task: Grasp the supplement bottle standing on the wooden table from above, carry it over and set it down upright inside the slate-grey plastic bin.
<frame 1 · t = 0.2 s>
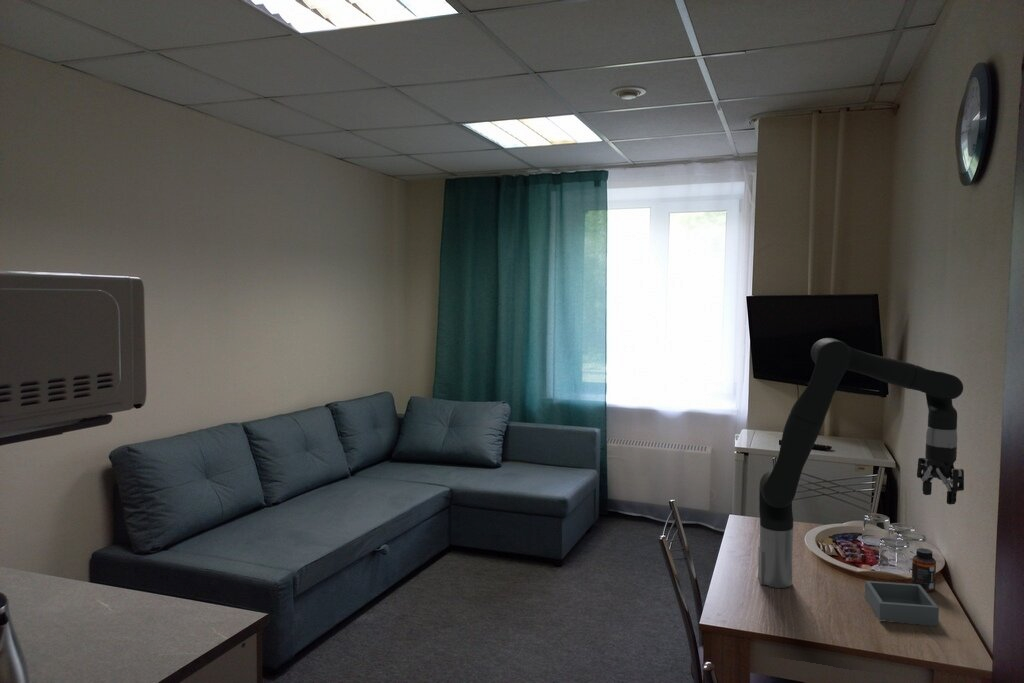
hand: (938, 499, 200), 27 cm above the table, tool pointing down, fingers open, 8 cm apart
grey bin: (899, 611, 191), on the table
supplement bottle: (923, 588, 205), on the table
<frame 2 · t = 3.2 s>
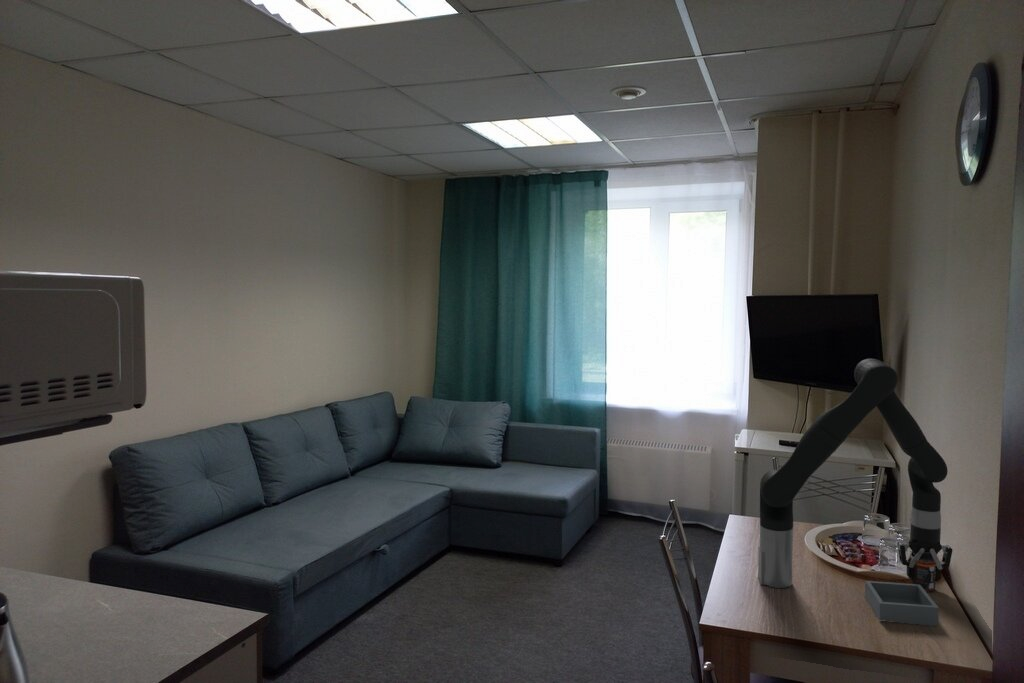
hand: (923, 579, 204), 3 cm above the table, tool pointing down, fingers closed on supplement bottle, 6 cm apart
supplement bottle: (923, 588, 205), on the table, touching gripper
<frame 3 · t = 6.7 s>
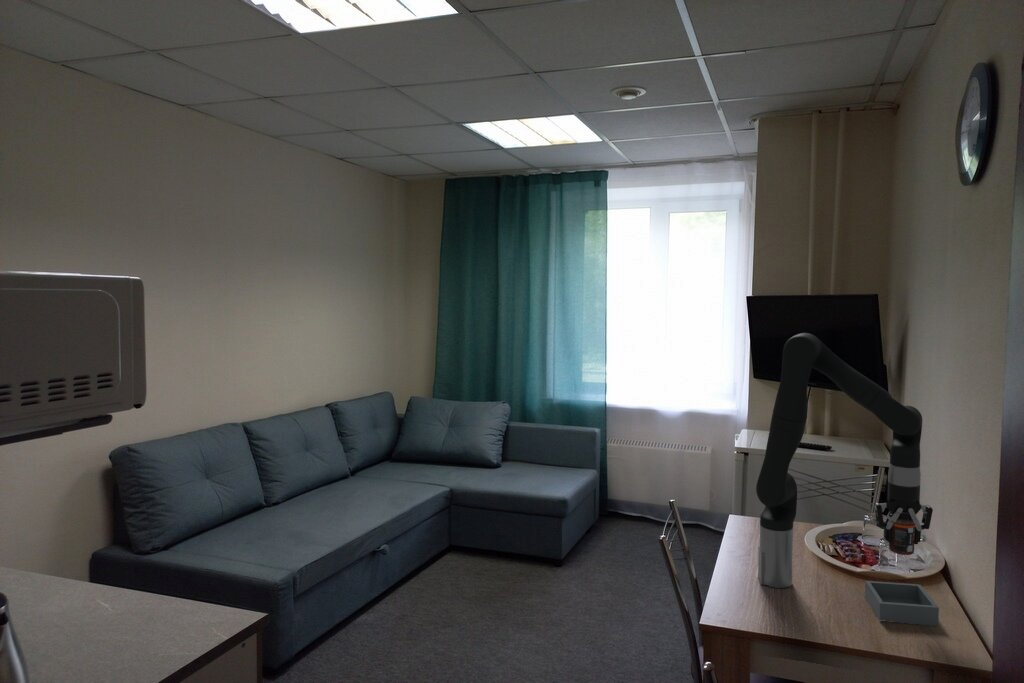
hand: (901, 542, 189), 19 cm above the table, tool pointing down, fingers closed on supplement bottle, 6 cm apart
supplement bottle: (901, 552, 190), point 16 cm above the table, touching gripper
when the fingers open (6 cm above the table, at t = 10.2 s): supplement bottle drops 2 cm, resting on grey bin.
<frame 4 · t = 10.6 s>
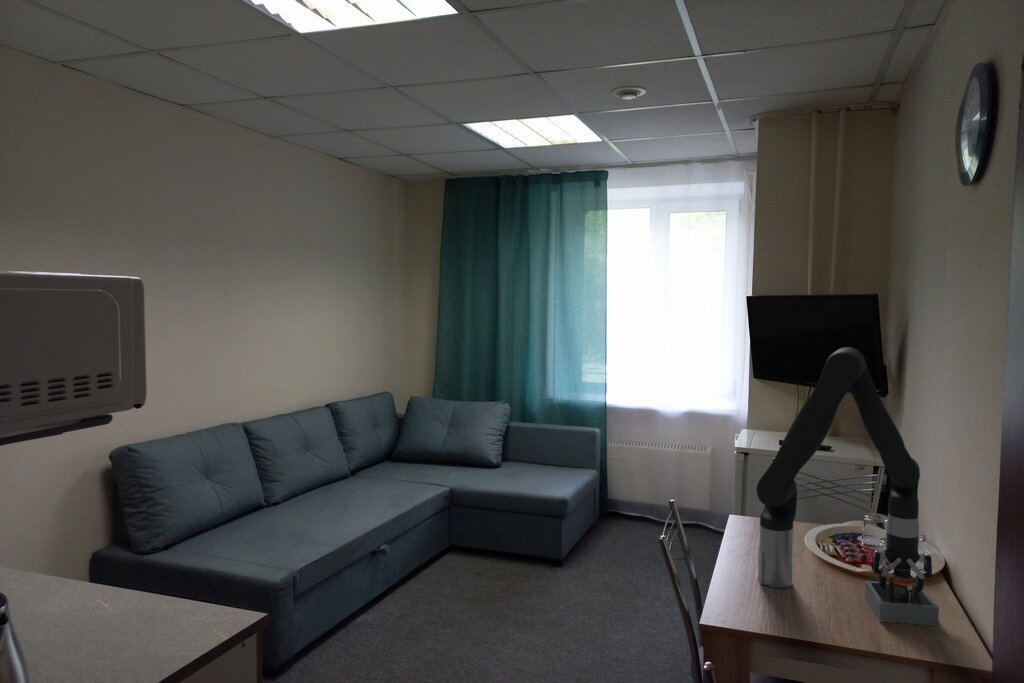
hand: (900, 589, 190), 6 cm above the table, tool pointing down, fingers open, 8 cm apart
supplement bottle: (900, 608, 191), point 1 cm above the table, touching grey bin
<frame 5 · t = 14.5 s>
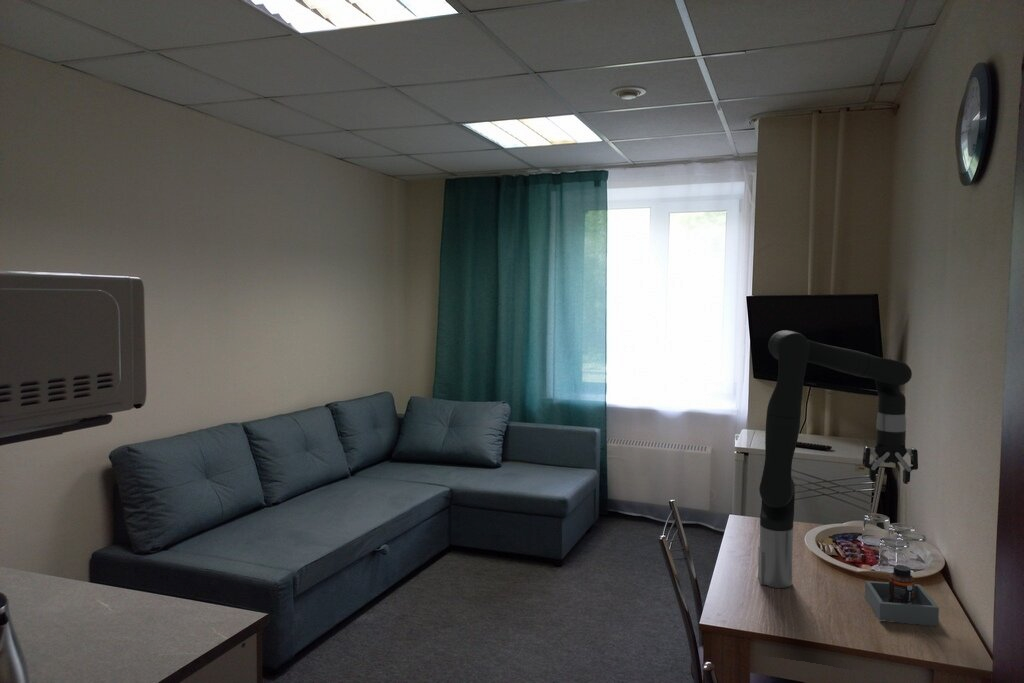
hand: (889, 482, 207), 30 cm above the table, tool pointing down, fingers open, 8 cm apart
nothing on the table moved.
at the end: supplement bottle inside the target area on the grey bin (0.2 cm from its centre), point 0.8 cm above the grey bin's base; supplement bottle tilted 0°; the gripper is holding nothing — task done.
